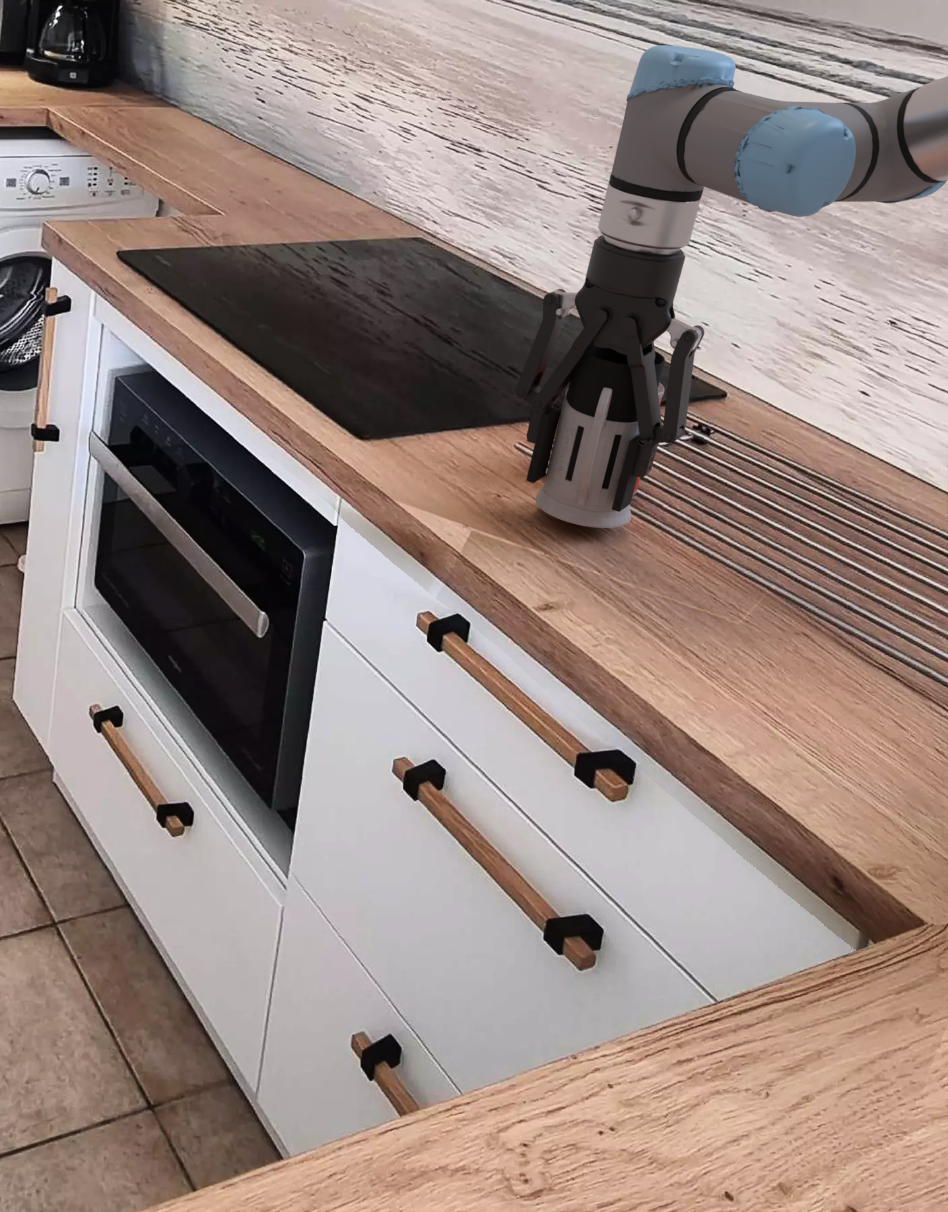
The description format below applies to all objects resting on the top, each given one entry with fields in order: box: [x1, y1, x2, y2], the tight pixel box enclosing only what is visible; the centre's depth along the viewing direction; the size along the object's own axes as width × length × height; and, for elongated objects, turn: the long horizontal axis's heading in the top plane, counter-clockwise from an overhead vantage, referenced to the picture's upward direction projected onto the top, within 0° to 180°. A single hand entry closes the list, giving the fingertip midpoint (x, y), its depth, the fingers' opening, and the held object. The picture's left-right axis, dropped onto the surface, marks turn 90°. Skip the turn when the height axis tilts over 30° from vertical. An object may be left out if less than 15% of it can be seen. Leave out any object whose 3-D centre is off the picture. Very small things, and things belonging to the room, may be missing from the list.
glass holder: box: [534, 347, 666, 529], centre depth 141 cm, size 9×14×15 cm, turn 158°
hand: (577, 491), depth 143 cm, fingers closed on glass holder, 7 cm apart
